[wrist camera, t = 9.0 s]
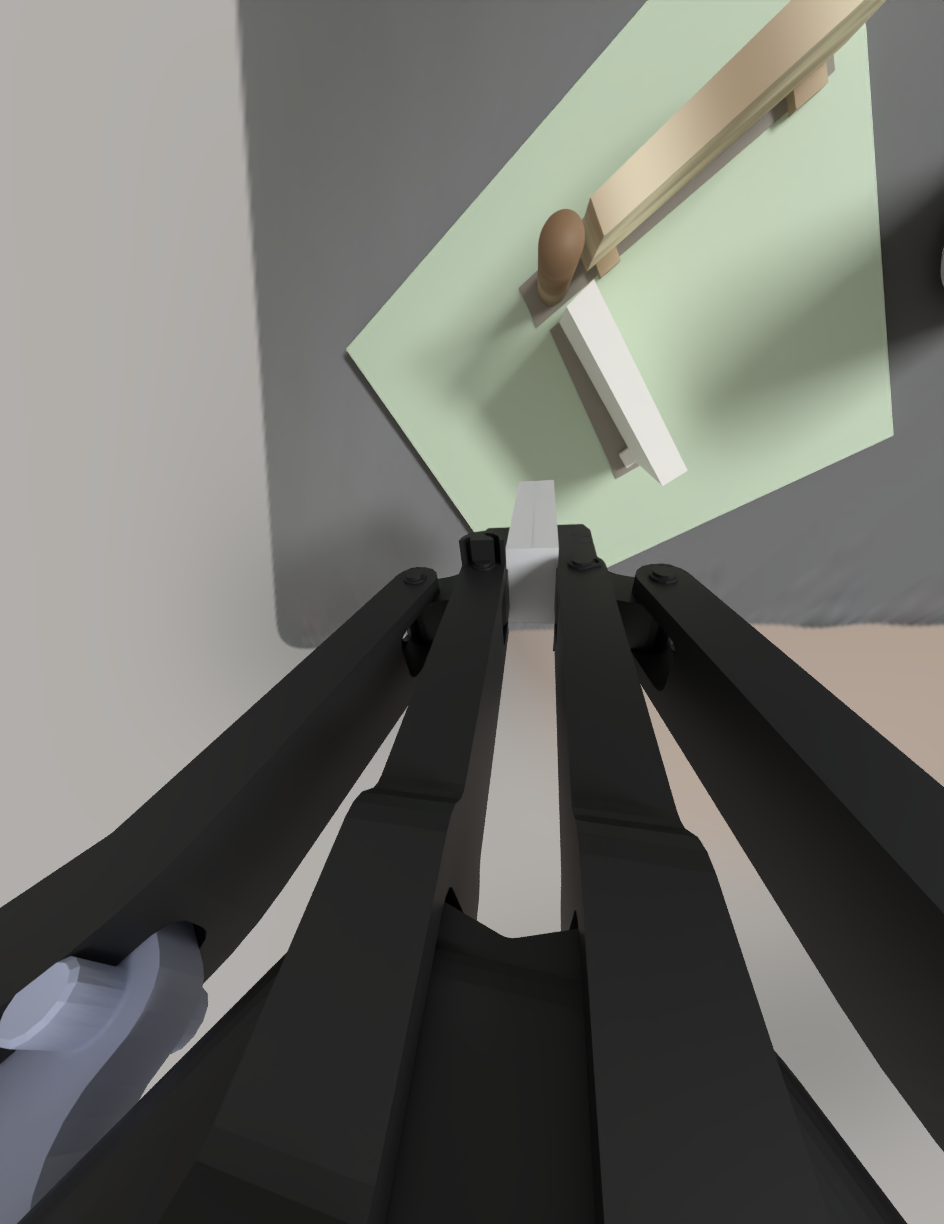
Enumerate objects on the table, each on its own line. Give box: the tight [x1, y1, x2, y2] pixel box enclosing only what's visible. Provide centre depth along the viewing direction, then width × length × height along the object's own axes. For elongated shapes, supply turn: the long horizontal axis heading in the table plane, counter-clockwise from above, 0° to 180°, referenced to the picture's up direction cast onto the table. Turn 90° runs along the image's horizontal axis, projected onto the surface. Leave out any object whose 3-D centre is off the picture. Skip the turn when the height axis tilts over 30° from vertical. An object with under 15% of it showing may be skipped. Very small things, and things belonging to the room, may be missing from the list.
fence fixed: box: [538, 0, 886, 306], centre depth 13 cm, size 12×2×8 cm, turn 125°
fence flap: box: [559, 279, 688, 486], centre depth 17 cm, size 9×2×6 cm, turn 40°
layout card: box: [346, 0, 893, 567], centre depth 20 cm, size 24×22×1 cm
